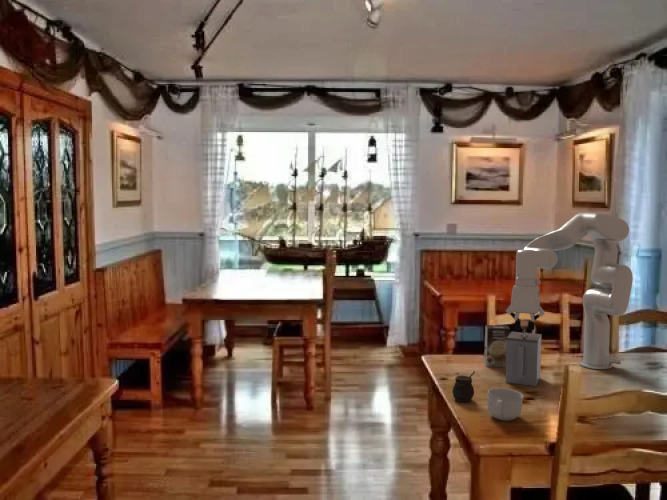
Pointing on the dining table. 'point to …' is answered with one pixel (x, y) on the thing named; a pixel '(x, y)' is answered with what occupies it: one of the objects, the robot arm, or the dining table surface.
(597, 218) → the robot arm
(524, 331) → the plunger
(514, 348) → the press
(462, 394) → the mate gourd
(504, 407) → the teacup
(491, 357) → the coffee box
